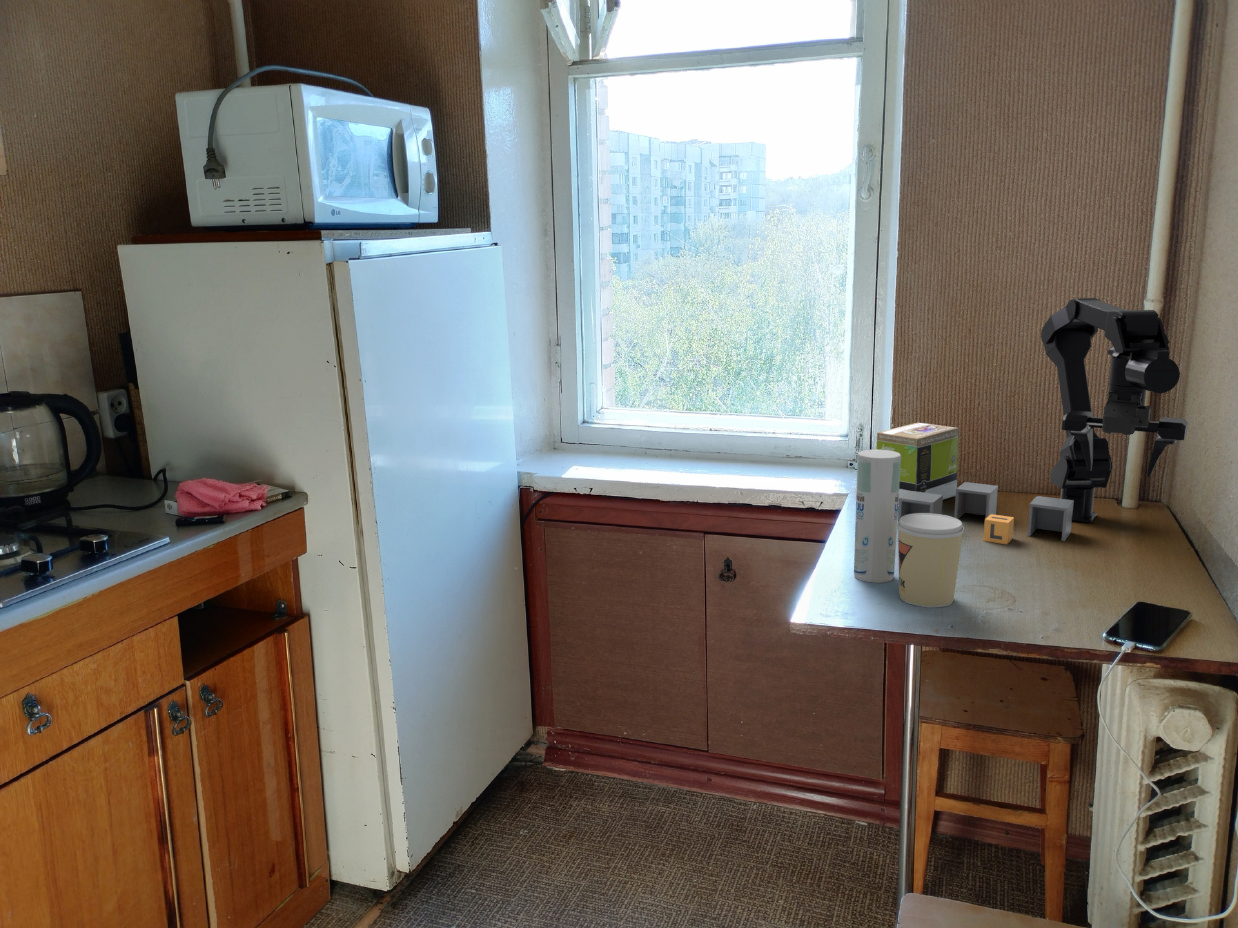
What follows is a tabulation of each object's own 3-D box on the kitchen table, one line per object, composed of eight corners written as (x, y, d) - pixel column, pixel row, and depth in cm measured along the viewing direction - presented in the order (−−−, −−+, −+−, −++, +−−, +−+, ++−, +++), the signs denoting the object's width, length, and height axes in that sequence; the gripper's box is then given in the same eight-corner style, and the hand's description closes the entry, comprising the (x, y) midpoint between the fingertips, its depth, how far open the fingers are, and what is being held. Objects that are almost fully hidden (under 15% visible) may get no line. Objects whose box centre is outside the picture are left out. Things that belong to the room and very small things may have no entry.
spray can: (898, 583, 151) (904, 458, 146) (855, 582, 151) (861, 458, 147) (890, 569, 157) (896, 449, 153) (850, 569, 158) (855, 449, 153)
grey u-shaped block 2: (908, 521, 184) (909, 490, 182) (941, 526, 180) (942, 494, 179) (897, 529, 179) (898, 498, 177) (931, 534, 175) (932, 502, 174)
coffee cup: (897, 584, 150) (900, 510, 148) (960, 591, 147) (965, 515, 144) (890, 605, 142) (894, 526, 139) (957, 613, 139) (963, 532, 136)
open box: (963, 511, 190) (964, 481, 188) (995, 516, 186) (998, 485, 185) (954, 519, 185) (956, 488, 183) (987, 523, 181) (990, 493, 180)
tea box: (915, 488, 208) (919, 420, 205) (957, 497, 200) (962, 427, 197) (872, 500, 199) (876, 430, 195) (915, 510, 191) (919, 437, 188)
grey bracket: (1034, 527, 179) (1036, 495, 177) (1070, 532, 175) (1073, 500, 174) (1027, 535, 174) (1029, 503, 172) (1064, 541, 170) (1067, 508, 169)
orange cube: (989, 535, 175) (990, 513, 174) (1012, 538, 172) (1014, 516, 171) (983, 541, 171) (984, 519, 170) (1006, 544, 169) (1008, 522, 168)
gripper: (1059, 386, 163) (1051, 476, 167) (1186, 395, 153) (1175, 490, 156) (1071, 378, 172) (1064, 464, 176) (1192, 385, 162) (1182, 476, 165)
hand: (1118, 473), depth 168 cm, fingers open, 9 cm apart
